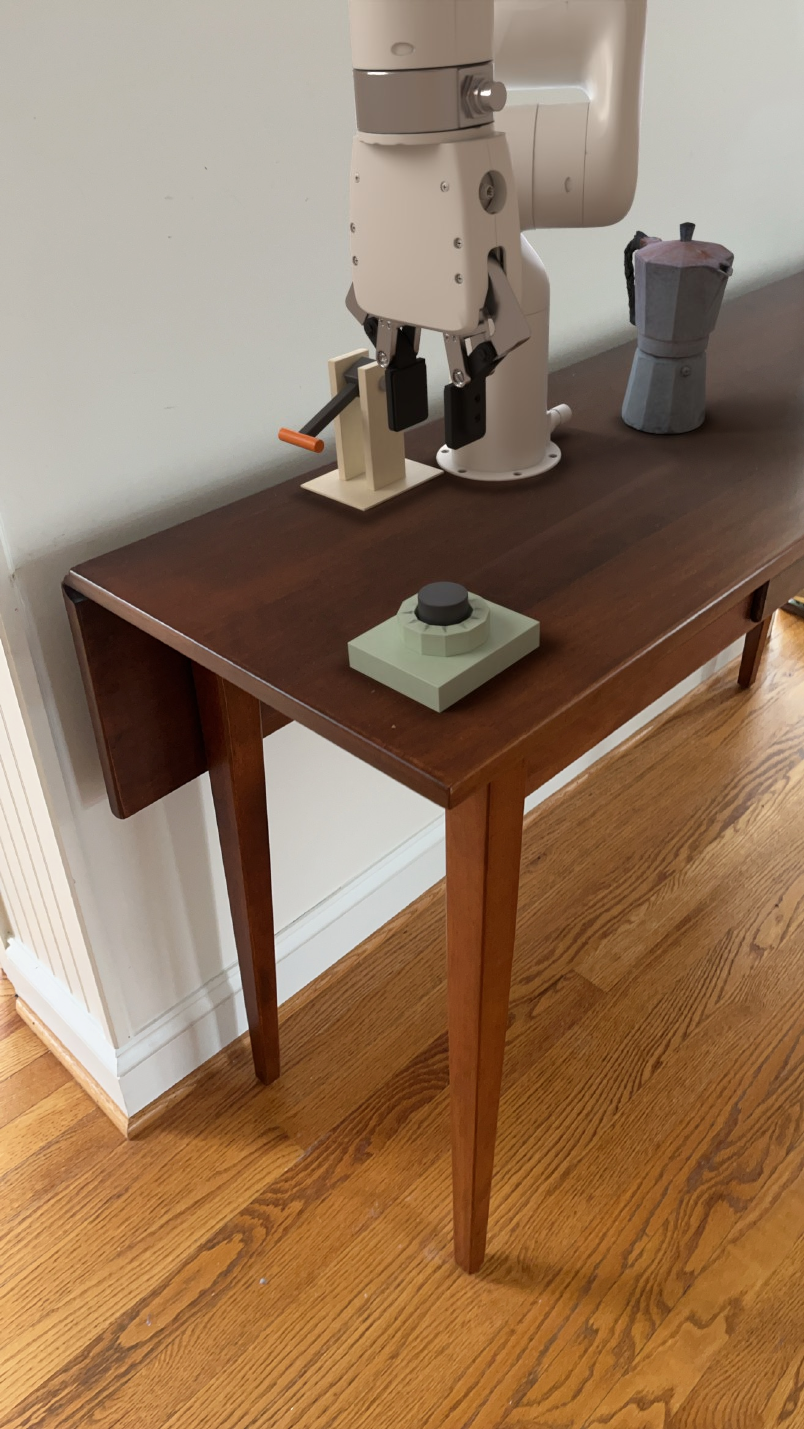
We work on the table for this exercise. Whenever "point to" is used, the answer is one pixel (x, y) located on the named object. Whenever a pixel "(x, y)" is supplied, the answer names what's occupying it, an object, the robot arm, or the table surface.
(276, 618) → the table surface
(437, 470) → the pivot handle stand
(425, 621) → the socket button
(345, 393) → the orange grip lever
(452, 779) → the table surface
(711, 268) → the moka pot
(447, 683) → the socket block
